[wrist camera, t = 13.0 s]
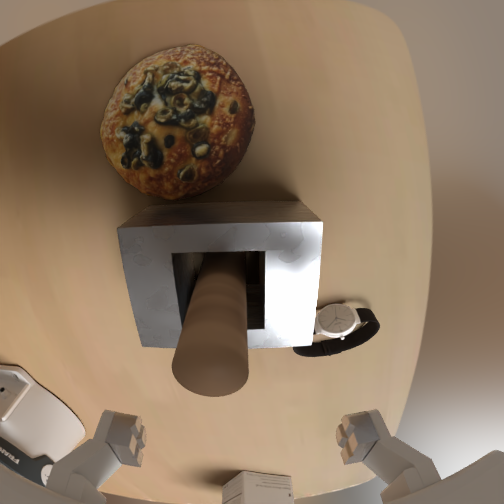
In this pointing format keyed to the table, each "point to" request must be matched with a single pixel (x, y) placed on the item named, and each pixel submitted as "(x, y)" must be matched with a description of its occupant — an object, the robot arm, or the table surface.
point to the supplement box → (258, 489)
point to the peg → (215, 329)
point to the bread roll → (178, 123)
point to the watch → (340, 330)
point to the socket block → (221, 240)
